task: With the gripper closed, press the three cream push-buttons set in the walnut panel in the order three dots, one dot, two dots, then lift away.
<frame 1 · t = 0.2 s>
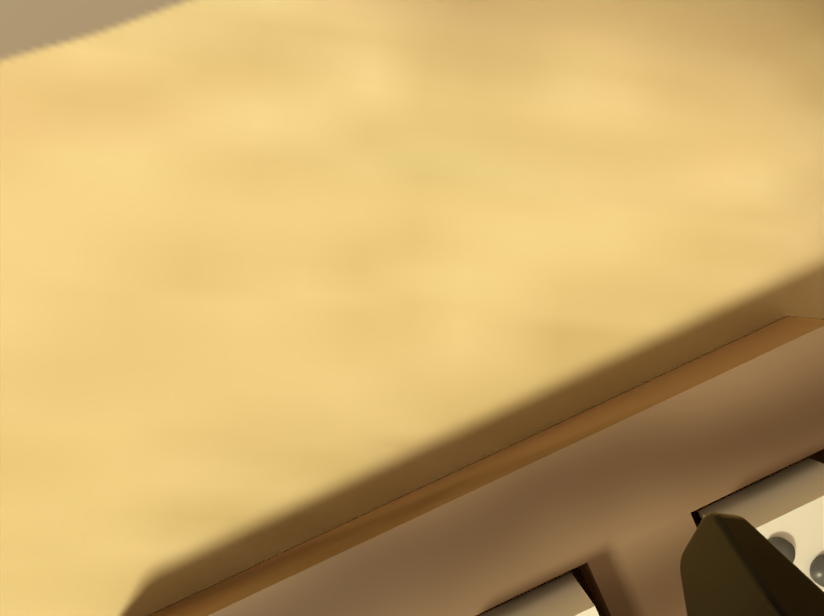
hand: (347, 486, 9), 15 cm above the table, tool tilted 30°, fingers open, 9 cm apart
button three: (801, 555, 22), point 3 cm above the table, slide at 0.0 cm
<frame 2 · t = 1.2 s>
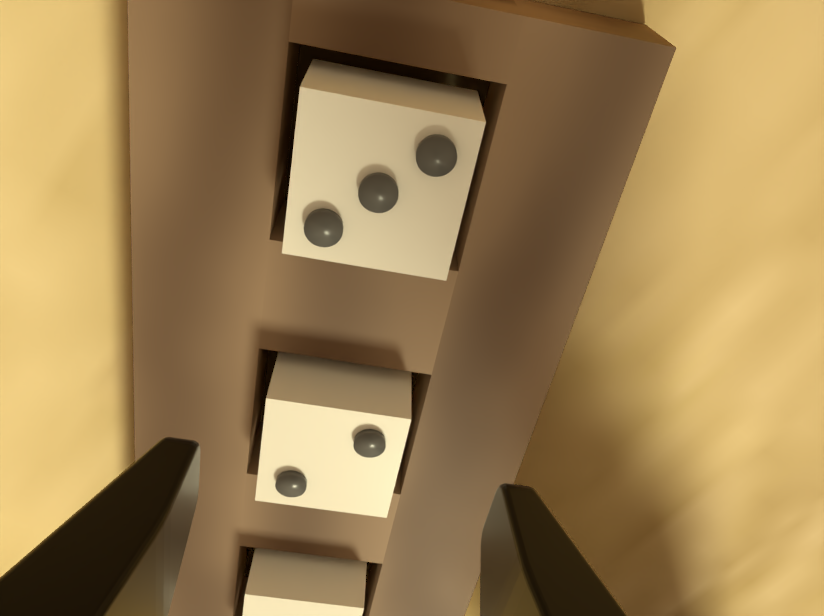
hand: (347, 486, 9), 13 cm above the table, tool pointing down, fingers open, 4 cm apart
button three: (380, 172, 17), point 3 cm above the table, slide at 0.0 cm
button two: (333, 435, 22), point 3 cm above the table, slide at 0.0 cm
button panel: (341, 376, 24), on the table
button one: (302, 608, 26), point 3 cm above the table, slide at 0.0 cm
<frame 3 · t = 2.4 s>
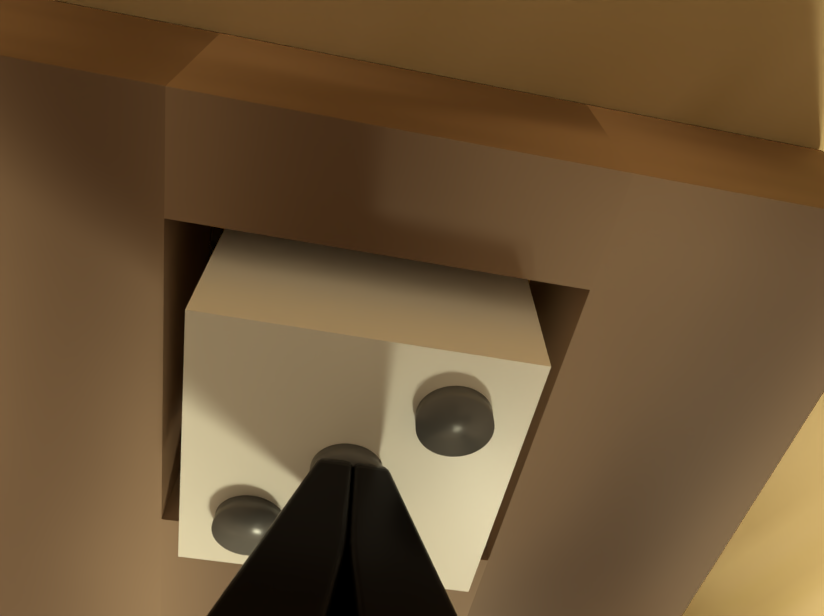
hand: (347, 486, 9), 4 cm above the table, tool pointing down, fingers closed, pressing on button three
button three: (352, 411, 10), point 2 cm above the table, slide at 0.5 cm, touching gripper
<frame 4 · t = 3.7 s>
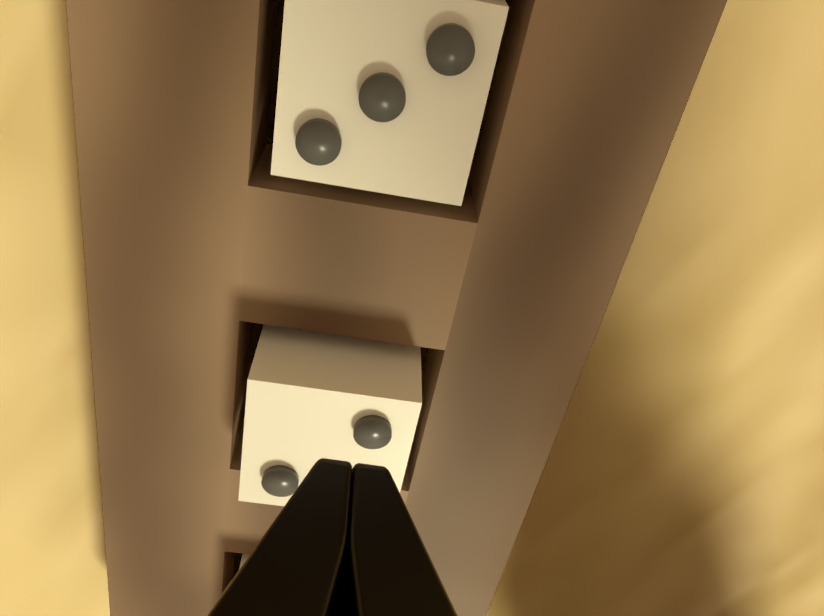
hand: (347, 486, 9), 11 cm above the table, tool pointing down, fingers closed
button three: (383, 80, 15), point 2 cm above the table, slide at 1.1 cm
button two: (329, 423, 18), point 3 cm above the table, slide at 0.0 cm
button panel: (338, 355, 21), on the table
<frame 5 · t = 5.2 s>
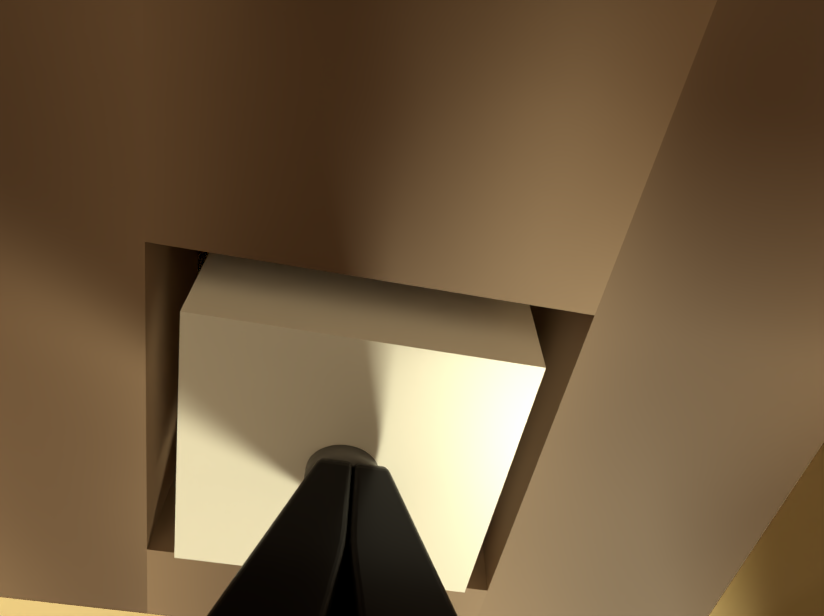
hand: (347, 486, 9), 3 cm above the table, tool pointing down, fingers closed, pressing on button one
button one: (348, 412, 10), point 2 cm above the table, slide at 1.0 cm, touching gripper
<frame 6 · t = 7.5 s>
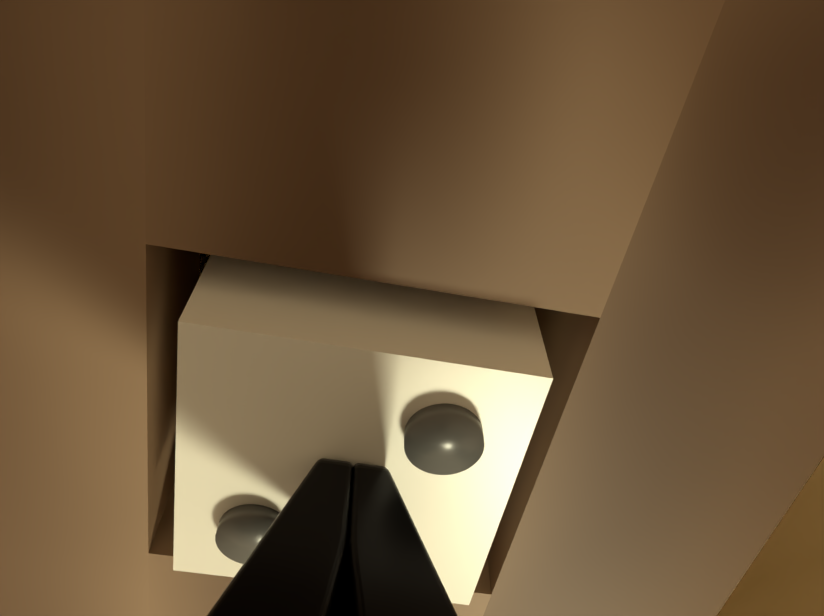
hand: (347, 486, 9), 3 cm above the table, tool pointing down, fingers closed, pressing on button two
button two: (350, 422, 10), point 2 cm above the table, slide at 0.9 cm, touching gripper
button panel: (359, 336, 11), on the table
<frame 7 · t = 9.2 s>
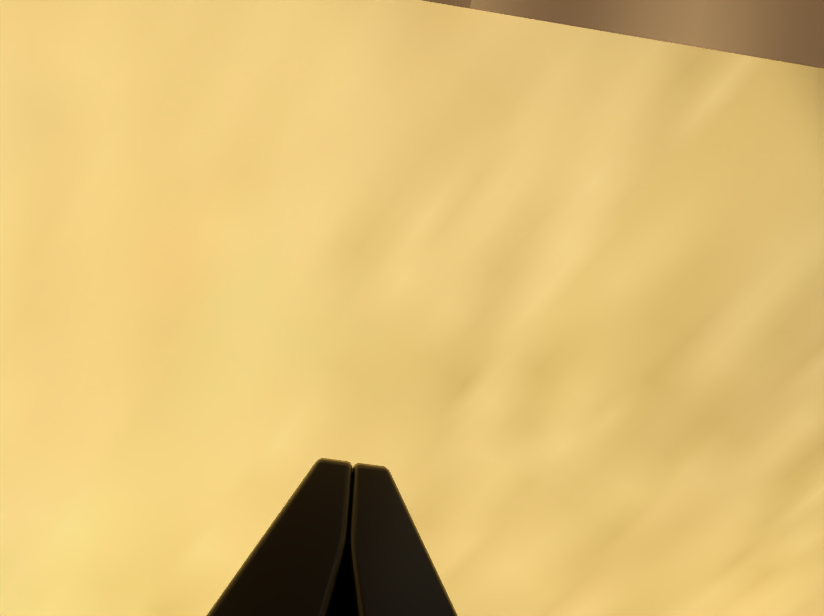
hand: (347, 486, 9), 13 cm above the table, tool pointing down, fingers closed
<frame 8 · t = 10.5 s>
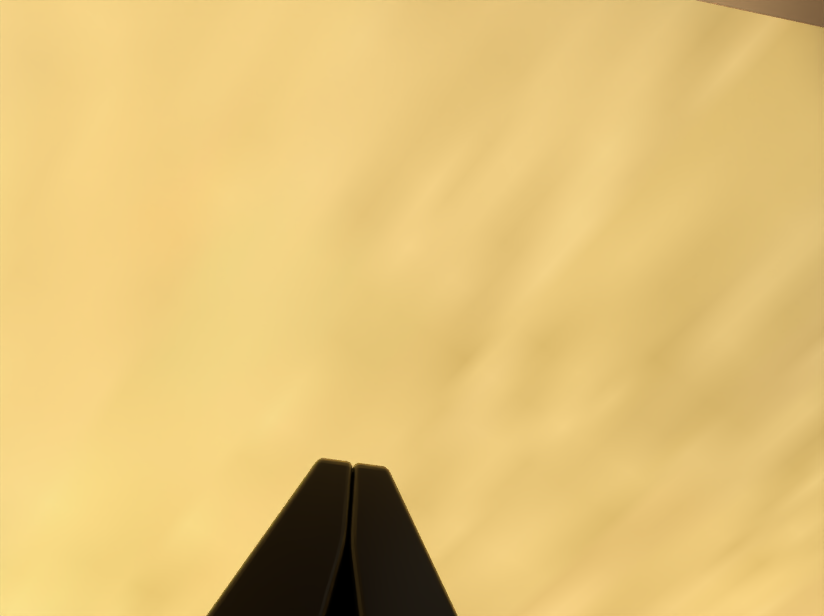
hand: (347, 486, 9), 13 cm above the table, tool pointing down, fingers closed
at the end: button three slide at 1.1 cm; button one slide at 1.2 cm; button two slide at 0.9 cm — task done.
